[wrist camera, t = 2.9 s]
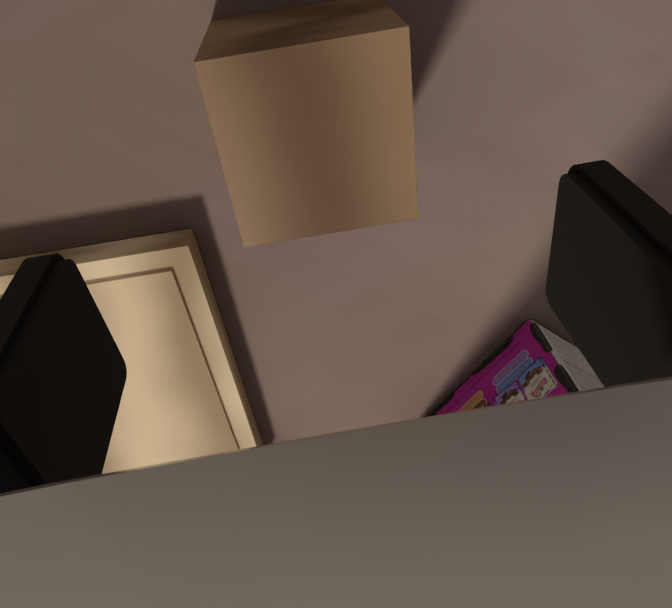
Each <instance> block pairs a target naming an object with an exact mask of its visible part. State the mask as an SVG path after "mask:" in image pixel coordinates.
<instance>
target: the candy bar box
mask: <svg viewBox="0 0 672 608" xmlns="http://www.w3.org/2000/svg"><path fill="white" fill-rule="evenodd" d="M602 387H604V386H603V384H602V383H601V381H600V380H599V378H598V377H597V375H596V374H595V372H594V371H593V369H592V368H591V366H590V365H589V363H588V362H587V360H586V359H585V357H584V356H583V354H582V353H581V351H580V350H579V348H578V347H577V346H576V345H574V344H573V343H571V342H569V341H566V340H564V339H562V338H560V337H558V336H557V335H555V334H554V333H552V332H551V331H549V330H547V329H546V328H544V327H543V326H541V325H539V324H537V323H536V322H534V321H532V320H528V321H527V322H525V323H524V324H523V325H522V326H521V327H520V328H519V329H518V330H517V331H516V332H515V333H514V334H513V335H512V336H510V337H509V338H508V339H507V340H506V341H505V342H504V343H503V344H502V345H501V346H500V347H499V348H498V349H497V350H496V351H495V352H494V353H493V354H492V355H491V356H490V357H489V358H488V359H487V360H486V361H485V362H484V363H483V364H482V365H481V366H480V367H479V368H478V369H477V370H476V371H475V372H474V373H473V374H472V375H471V376H470V377H469V378H468V379H467V380H466V381H465V382H464V383H463V384H462V385H461V386H460V387H459V388H458V389H457V390H456V391H455V392H454V393H453V394H452V395H451V396H450V397H449V398H448V399H447V400H446V401H445V402H444V403H443V404H442V405H441V406H440V407H439V408H438V409H437V410H436V411H435V412H434V413H433V414H432V415H431V416H435V415H441V414H447V413H453V412H459V411H465V410H471V409H477V408H483V407H488V406H494V405H500V404H506V403H512V402H518V401H524V400H530V399H536V398H542V397H548V396H554V395H560V394H566V393H572V392H578V391H584V390H590V389H596V388H602Z"/></svg>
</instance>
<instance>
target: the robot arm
mask: <svg viewBox="0 0 672 608" xmlns="http://www.w3.org/2000/svg"><path fill="white" fill-rule="evenodd" d="M546 295H547V300H548V302H549V304H550V306H551V308H552V309H553V311H554V312H555V314H556V315H557V317H558V318H559V320H560V321H561V323H562V324H563V326H564V327H565V329H566V330H567V332H568V333H569V335H570V336H571V338H572V339H573V341H574V342H575V344H576V345H577V347H578V348H579V350H580V351H581V353H582V354H583V356H584V357H585V359H586V360H587V362H588V363H589V365H590V366H591V368H592V369H593V371H594V372H595V374H596V375H597V377H598V378H599V380H600V381H601V383H602V384H603V386H604V387H602V388H596V389H590V390H584V391H578V392H572V393H566V394H560V395H554V396H548V397H542V398H536V399H530V400H524V401H518V402H512V403H506V404H500V405H494V406H488V407H483V408H477V409H471V410H465V411H459V412H453V413H447V414H441V415H435V416H429V417H423V418H417V419H412V420H406V421H400V422H394V423H388V424H383V425H377V426H371V427H365V428H359V429H353V430H348V431H342V432H336V433H330V434H325V435H319V436H313V437H307V438H302V439H296V440H290V441H284V442H279V443H273V444H267V445H261V446H256V447H250V448H245V449H239V450H233V451H228V452H222V453H217V454H211V455H205V456H200V457H194V458H189V459H183V460H177V461H172V462H166V463H161V464H155V465H149V466H144V467H138V468H133V469H127V470H121V471H116V472H110V473H104V474H102V471H103V467H104V464H105V460H106V456H107V452H108V448H109V444H110V440H111V436H112V432H113V429H114V425H115V421H116V417H117V413H118V409H119V405H120V401H121V397H122V394H123V390H124V386H125V382H126V377H127V369H126V364H125V361H124V359H123V357H122V355H121V353H120V351H119V349H118V347H117V345H116V343H115V341H114V339H113V337H112V335H111V333H110V331H109V329H108V327H107V325H106V323H105V321H104V319H103V317H102V315H101V313H100V311H99V309H98V307H97V305H96V303H95V301H94V299H93V297H92V295H91V293H90V291H89V289H88V287H87V285H86V283H85V281H84V279H83V277H82V275H81V273H80V271H79V269H78V267H77V265H76V264H75V262H74V261H73V260H71V259H64V257H63V256H62V255H60V254H58V253H55V254H49V255H43V256H37V257H31V258H26V259H25V260H24V261H23V262H22V264H21V265H20V267H19V269H18V270H17V272H16V274H15V275H14V277H13V279H12V280H11V282H10V284H9V285H8V287H7V289H6V290H5V292H4V294H3V295H2V297H1V299H0V608H672V215H671V214H670V213H668V212H667V211H666V210H665V209H664V208H662V207H661V206H660V205H659V204H658V203H656V202H655V201H654V200H653V199H652V198H650V197H649V196H648V195H647V194H646V193H645V192H643V191H642V190H641V189H640V188H639V187H637V186H636V185H635V184H634V183H633V182H631V181H630V180H629V179H628V178H627V177H625V176H624V175H623V174H622V173H621V172H620V171H618V170H617V169H616V168H615V167H614V166H612V165H611V164H610V163H609V162H607V161H605V160H600V161H594V162H588V163H582V164H577V165H573V166H572V167H571V168H570V169H569V171H568V174H563V175H562V176H561V178H560V181H559V188H558V195H557V203H556V211H555V219H554V227H553V235H552V243H551V251H550V259H549V267H548V275H547V283H546Z"/></svg>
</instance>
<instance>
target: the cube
mask: <svg viewBox="0 0 672 608" xmlns="http://www.w3.org/2000/svg"><path fill="white" fill-rule="evenodd" d="M194 65H195V69H196V73H197V76H198V80H199V84H200V87H201V91H202V95H203V98H204V102H205V106H206V109H207V113H208V117H209V120H210V124H211V128H212V132H213V135H214V139H215V143H216V146H217V150H218V154H219V157H220V161H221V165H222V168H223V172H224V176H225V179H226V183H227V187H228V190H229V194H230V198H231V201H232V205H233V209H234V212H235V216H236V220H237V224H238V227H239V231H240V235H241V238H242V242H243V246H244V247H249V246H255V245H261V244H267V243H273V242H280V241H286V240H292V239H298V238H304V237H310V236H316V235H322V234H328V233H334V232H340V231H346V230H352V229H358V228H364V227H370V226H376V225H382V224H388V223H394V222H400V221H406V220H412V219H418V218H419V211H418V191H417V172H416V152H415V132H414V112H413V93H412V73H411V53H410V33H409V26H408V25H407V24H406V23H405V22H404V21H403V19H402V18H401V17H400V16H399V15H398V14H397V13H396V12H395V11H394V10H393V9H392V8H391V7H390V6H389V5H388V4H387V3H386V2H385V1H384V0H331V1H325V2H319V3H313V4H307V5H302V6H296V7H290V8H284V9H278V10H272V11H266V12H260V13H254V14H248V15H242V16H236V17H230V18H224V19H218V20H212V21H211V22H210V24H209V27H208V29H207V32H206V34H205V36H204V39H203V41H202V44H201V46H200V48H199V51H198V53H197V56H196V58H195V60H194Z"/></svg>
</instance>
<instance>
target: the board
mask: <svg viewBox="0 0 672 608" xmlns="http://www.w3.org/2000/svg"><path fill="white" fill-rule="evenodd" d="M55 253H58V254H60V255H62V256H63V257H64V259H71V260H73V261H74V262H75V264H76V265H77V267H78V269H79V271H80V273H81V275H82V277H83V279H84V281H85V283H86V285H87V287H88V289H89V291H90V293H91V295H92V297H93V299H94V301H95V303H96V305H97V307H98V309H99V311H100V313H101V315H102V317H103V319H104V321H105V323H106V325H107V327H108V329H109V331H110V333H111V335H112V337H113V339H114V341H115V343H116V345H117V347H118V349H119V351H120V353H121V355H122V357H123V359H124V361H125V364H126V369H127V377H126V382H125V386H124V390H123V394H122V397H121V401H120V405H119V409H118V413H117V417H116V421H115V425H114V429H113V432H112V436H111V440H110V444H109V448H108V452H107V456H106V460H105V464H104V467H103V471H102V474H104V473H110V472H116V471H121V470H127V469H133V468H138V467H144V466H149V465H155V464H161V463H166V462H172V461H177V460H183V459H189V458H194V457H200V456H205V455H211V454H217V453H222V452H228V451H233V450H239V449H245V448H250V447H256V446H261V445H263V443H262V440H261V437H260V434H259V431H258V428H257V425H256V422H255V419H254V416H253V413H252V410H251V407H250V404H249V400H248V397H247V394H246V391H245V388H244V385H243V382H242V379H241V376H240V373H239V370H238V367H237V364H236V361H235V358H234V355H233V352H232V349H231V346H230V343H229V340H228V336H227V333H226V330H225V327H224V324H223V321H222V318H221V315H220V312H219V309H218V306H217V303H216V300H215V297H214V294H213V291H212V288H211V285H210V282H209V279H208V276H207V272H206V269H205V266H204V263H203V260H202V257H201V254H200V251H199V248H198V245H197V242H196V239H195V236H194V233H193V230H192V229H186V230H179V231H173V232H167V233H161V234H155V235H149V236H143V237H137V238H131V239H125V240H119V241H113V242H107V243H101V244H95V245H88V246H82V247H76V248H70V249H64V250H58V251H52V252H46V253H40V254H34V255H28V256H22V257H16V258H10V259H3V260H0V299H1V297H2V295H3V294H4V292H5V290H6V289H7V287H8V285H9V284H10V282H11V280H12V279H13V277H14V275H15V274H16V272H17V270H18V269H19V267H20V265H21V264H22V262H23V261H24V260H25V259H26V258H31V257H37V256H43V255H49V254H55Z"/></svg>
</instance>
